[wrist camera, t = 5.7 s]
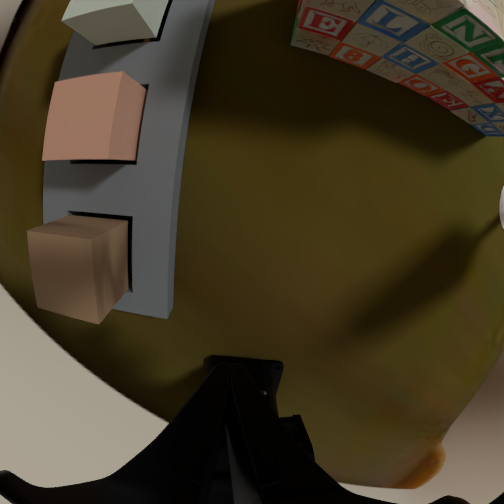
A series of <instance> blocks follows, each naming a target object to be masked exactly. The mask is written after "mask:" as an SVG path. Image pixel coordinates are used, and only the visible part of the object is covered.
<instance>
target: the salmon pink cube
mask: <svg viewBox="0 0 504 504" xmlns="http://www.w3.org/2000/svg"><path fill="white" fill-rule="evenodd" d="M147 93H148V90H146V89H145V88H144V87H143V86H141V85H140V84H139V83H138V82H136V81H135V80H134V79H132V78H131V77H130V76H129V75H127V74H126V73H125V72H123V71H120V72H111V73H102V74H95V75H89V76H83V77H77V78H72V79H67V80H62V81H57V82H55V85H54V89H53V93H52V98H51V102H50V107H49V113H48V118H47V125H46V131H45V139H44V147H43V157H42V161H45V160H133V161H137V157H138V149H139V141H140V134H141V127H142V121H143V115H144V109H145V103H146V98H147Z"/></svg>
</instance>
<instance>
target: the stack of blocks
mask: <svg viewBox="0 0 504 504" xmlns="http://www.w3.org/2000/svg"><path fill="white" fill-rule="evenodd" d="M290 45H291V46H295V47H299V48H303V49H307V50H310V51H314V52H317V53H321V54H324V55H327V56H329V57H331V58H334V59H337V60H340V61H343V62H346V63H349V64H351V65H354V66H357V67H359V68H362V69H365V70H367V71H370V72H372V73H374V74H376V75H379V76H381V77H383V78H386V79H388V80H390V81H393V82H395V83H400V84H401V85H403V86H406V87H408V88H410V89H412V90H414V91H416V92H418V93H419V94H421V95H423V96H426V97H428V98H430V99H431V100H433V101H435V102H437V103H438V104H440V105H442V106H443V107H445V108H447V109H449V110H450V112H452V113H453V114H455V115H456V116H458V117H459V118H461V119H462V120H464V121H465V122H467V123H468V124H470V125H471V126H473V127H474V128H476V129H477V130H479V131H480V132H481V133H483V134H484V135H485V136H503V137H504V0H299V1H298V6H297V11H296V19H295V24H294V29H293V33H292V38H291V43H290Z"/></svg>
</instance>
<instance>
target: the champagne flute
mask: <svg viewBox="0 0 504 504" xmlns="http://www.w3.org/2000/svg"><path fill="white" fill-rule="evenodd" d="M499 209H500V220H501V224H502V227H503V229H504V186H503V189H502V192H501V197H500V207H499Z"/></svg>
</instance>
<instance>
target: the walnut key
mask: <svg viewBox="0 0 504 504" xmlns="http://www.w3.org/2000/svg"><path fill="white" fill-rule="evenodd" d="M27 236H28V248H29V258H30V266H31V273H32V280H33V286H34V292H35V297H36V302H37V307H38V308H41V309H44V310H48V311H51V312H54V313H58V314H61V315H65V316H68V317H72V318H76V319H79V320H83V321H87V322H91V323H95V324H100V323H101V321H102V320H103V319H104V318H105V317H106V315H107V314H108V313H109V312H110V310H111V309H112V308H113V307H114V306H115V304H116V303H117V302H118V301H119V300H120V298H121V297H122V296H123V295H124V294H125V293H126V291H127V290H128V221H126V220H116V219H106V218H96V217H86V216H75V215H69V216H66V217H63V218H60V219H57V220H54V221H52V222H49V223H46V224H43V225H41V226H38V227H36V228H33V229H30V230H28V231H27Z"/></svg>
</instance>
